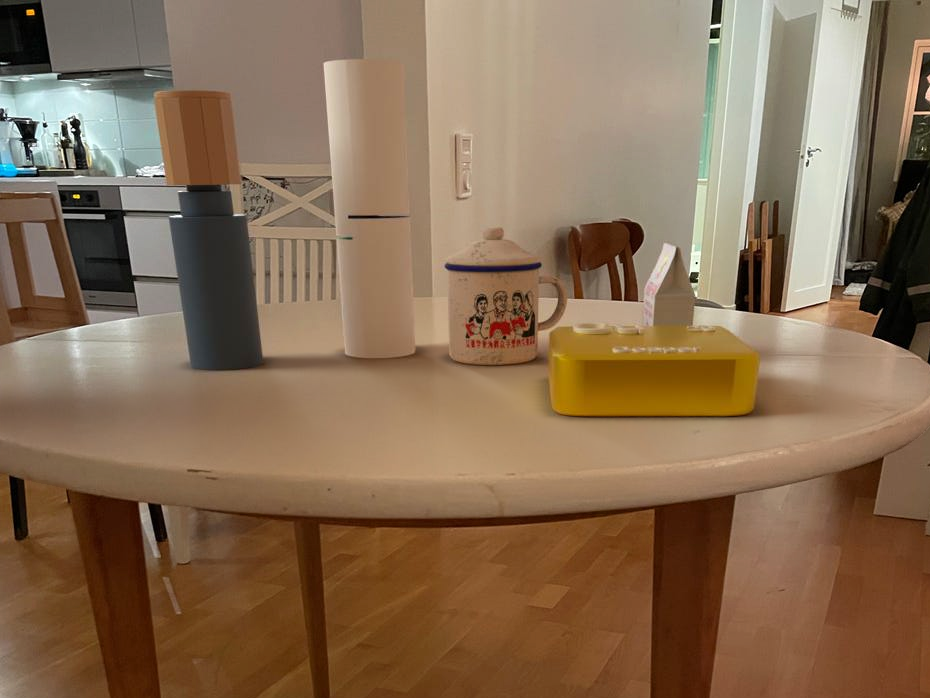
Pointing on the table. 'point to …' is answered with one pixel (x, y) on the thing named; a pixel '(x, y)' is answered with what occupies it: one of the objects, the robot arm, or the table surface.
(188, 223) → the water bottle
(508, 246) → the teacup with lid
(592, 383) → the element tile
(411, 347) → the cylindrical container
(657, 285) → the milk carton
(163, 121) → the light wood cylinder
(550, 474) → the table surface
